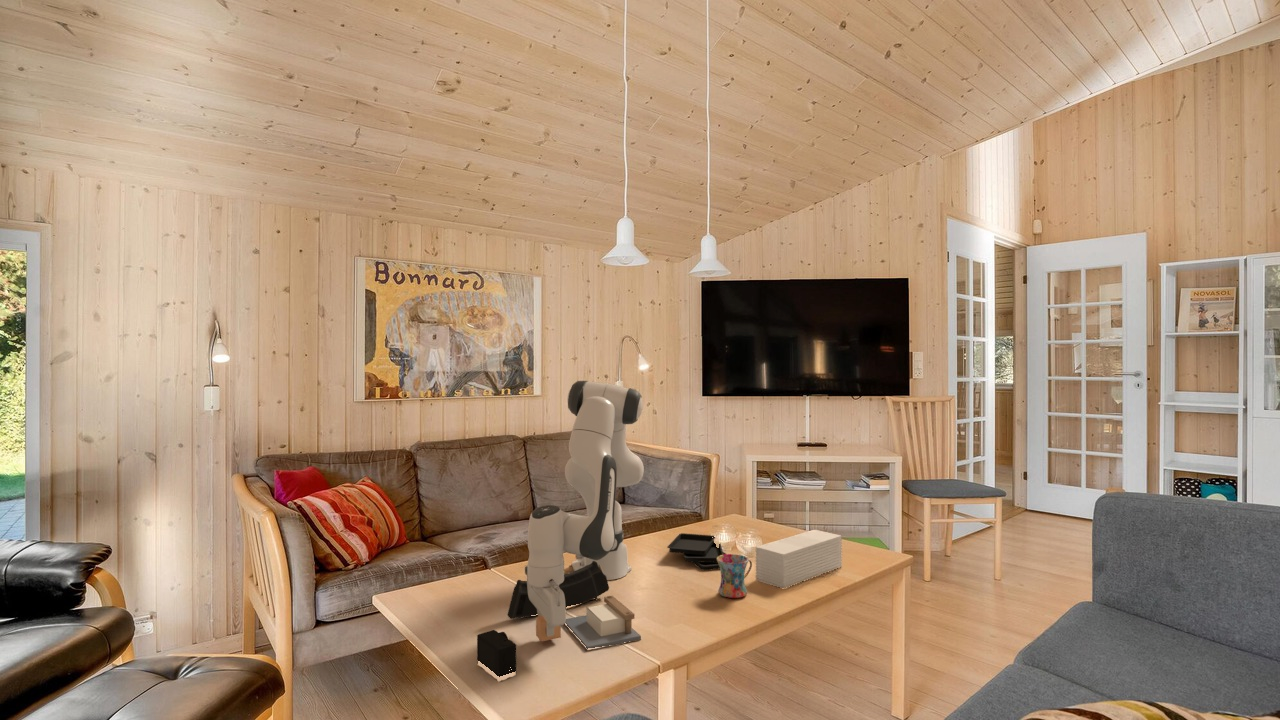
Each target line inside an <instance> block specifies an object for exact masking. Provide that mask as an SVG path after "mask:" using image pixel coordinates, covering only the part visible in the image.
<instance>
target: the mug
mask: <svg viewBox="0 0 1280 720" xmlns="http://www.w3.org/2000/svg"><path fill="white" fill-rule="evenodd" d="M717 561H718V562H717V564H719V567H720V569H719V570H720V585H719V587H718V589H717V591H718V594H719V595H720V596H722V597H725V598H731V599H739V598H742V597H745V596H746V595H747V594H748V590H747V588H746V584H745V579H746V578H747V577H748V575H749V574H750V572H751V570H752V567H753V563H752V561H751V560H750V559H749V558H748V557H747V556H745V555H742V554H736V553H726V554H724V555H720V556H718V557H717ZM748 563H749V566H748V570H747V571H746V567H747V565H748ZM745 572H746V573H745Z"/></svg>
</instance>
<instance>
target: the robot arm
mask: <svg viewBox="0 0 1280 720" xmlns="http://www.w3.org/2000/svg"><path fill="white" fill-rule="evenodd" d="M570 387H571V388H570V389H569V390H568V394H567V409H568V410H569V411H570V413H571V414H572V415H574V416H575V421H574V424H573V426H572V430H571V434H570V438H569V443H568V452H569V455H570V458H569V459H568V460H567V462H566V465H565V468H564V477H565V480H566V482H567V483H568V484H569V485H570V486H571V487H572V488H574V489H575V490H576V491H577V492H578V493H579V495H581V497H582V499H583V501H584V504H585V506H586V516H585V515H579V514H576V513H569V512H566V511H564V510H562V509H561V508H560V506H557V505H554V504H549V505H541V506H539V507H536V508H535V509H534V510H532V511H531V513H530V516H529V520H528V525H527V528H528V529H527V548H528V551H529V554H528V555H529V556H528V559H527V564H526V565H525V564H524V575H526V581H527V590H528V597H529V600H530V601H531V602H532V604H533V605H534V606H535V607H536V609H537V614H538V616H537V617H540V616H543V617H544V618H545V620H546V623H547V625H546V627H545V633H546V635H547V636H548V637H550V636H553V635H554V628H555V626H560V625H561V626H565V625H564V624H565V622H566V619H567V610H566V607H565V596H564V593H563V591H562V590H561V589H560V588H559V584H561V583H562V582H563V581H564V574H565V558H564V554H565V553H566V554H572V555H575V560H574V561H573V560H572V561H571V566H572V569H573V571H576V570H578V569H581V568H583V567H585V566H586V565H589V564H591V563H592V561H596V562H597V564H598V567H599V564H600V566H601V568H602V571H603V573H604V575H606V578H607V581H610V580H617V579H621V578H624V577H625V576H627V574H628V573H629V572H631V571H632V570H633V569H632V566H631V565H629V560H628V547H627V544H625V543H624V530H623V527H622V526H623V524H622V523H623V522H622V520H623V518H622V515H623V514H622V513H623V511H622V506H621V504H620V503H619V502H618V501H617V500H616V495H617V488H626V487H630V486H633V485H637V484H639V483H640V482H641V480H642V479H643V478H644V477H643V476H644V472H645V467H644V463H643V461H642V459H641V458H640V457H639V456H638V455H637V454H635V453H633V452H632V451H631V450H630V449H629V447H628V445H627V441H626V440H627V439H626V435H627V434H626V432H627V425H634V424H635V423H636V422H637V421H638V419H640V417H641V415H642V413H643V409H644V401H643V399H642V398H643V397H642V394H641V392H640V391H638V390H636V389H634V388H627V387H624V386H622V385H617V384H613V383H604V382H595V381H594V382H593V381H588V380H577V381H575V382H574V383H573V384H572V385H571V386H570Z"/></svg>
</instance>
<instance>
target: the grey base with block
mask: <svg viewBox="0 0 1280 720" xmlns="http://www.w3.org/2000/svg"><path fill="white" fill-rule="evenodd" d="M603 602H604V603H605V604H599V605H595V606H588V607H586V608H585V609H586V610H585V611H586V614H585V615H579V616H575V617H570V618H566V622H565V623H566V624H567V626H568V627H569V628H570V629H571V630H572V631H573V633H574V634H575V635H576V636H577V637H578V638H579V639H580V640H581V642H582V643H583V644H584V645H585V646H586V648H587V649H588V648H595V647H602V646H609V645H614V646H617V645H616V644H619V645H623V644H622V643H624V642H628V643H630V642H629V641H633V642H635V641H634V640H638V641H641V640H642V635H641V634H640V633H638V632H637V631H636V630H635V629H634V628H633V627H632V623H633V621H632V620H635V613H634V612H633V611H632V610H631V609H629V608H628V607H627V606H626V605H624V604H623V603H622V602H621V601H619V599H617V598H616V597H615V596H614V595H608V596H604V597H603ZM624 644H625V643H624ZM609 647H610V646H609Z"/></svg>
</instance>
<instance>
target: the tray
mask: <svg viewBox="0 0 1280 720" xmlns="http://www.w3.org/2000/svg"><path fill="white" fill-rule="evenodd" d="M714 536H715V535H710V534H699V533H685V532H682V533H679V534H678V535H677V536H676V537H675V538H674V539H673V540H672V541H671V542H670V543H669V544H668V545H667V549H669V550H668V551H669V552H670V553H674V554H683V558H684V560H685V562H686V563H692V564H693V565H694V566H696V567H698V569H700V570H702V571H710V570H711V569H712V570H719V569H718V568H720V567H719V564H718V561H717V557H718V556H720V555H724V554H727V553H726V552H725V551H723V548H722V545H721V543H720V544H719V548H717V547H716V544H715V543H714V541H715V539H716V537H714ZM712 537H713V538H712ZM701 563H715V564H706V565H705V564H701ZM712 570H711V571H712Z"/></svg>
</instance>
